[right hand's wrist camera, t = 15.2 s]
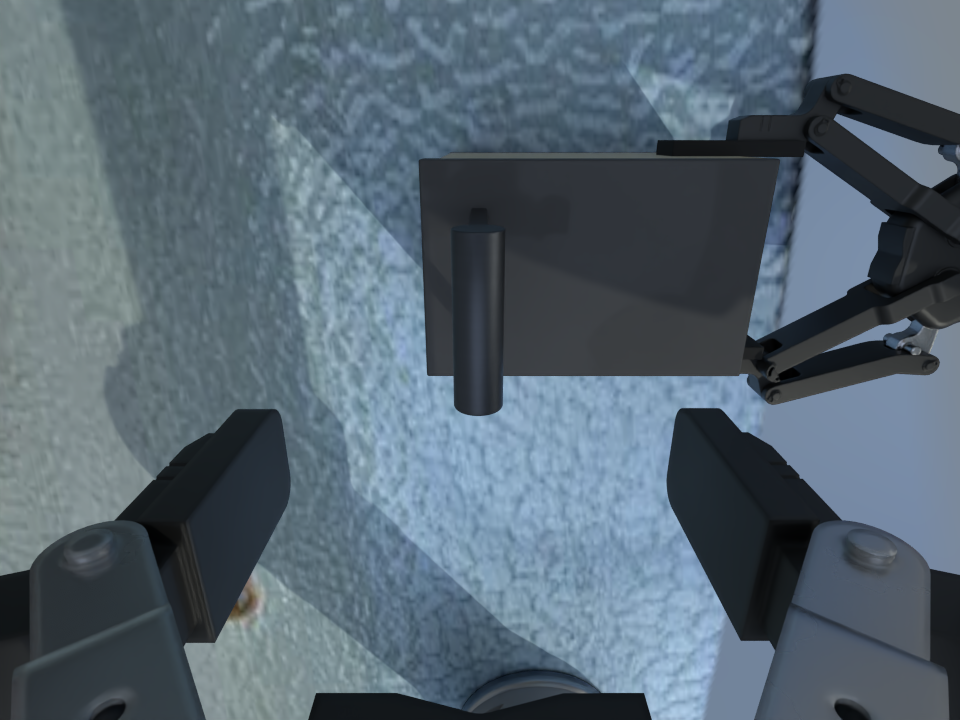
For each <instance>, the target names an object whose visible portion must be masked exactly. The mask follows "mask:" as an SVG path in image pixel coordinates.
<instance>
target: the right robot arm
mask: <svg viewBox="0 0 960 720" xmlns="http://www.w3.org/2000/svg"><path fill="white" fill-rule="evenodd" d="M667 493H668V498H669V502H670V505H671V507H672V509H673V511H674V513H675V515H676V517H677V519H678V521H679V523H680V524H681V526H682V528H683V530H684V532H685V534H686V536H687V538H688V540H689V542H690V544H691V546H692V548H693V549H694V551H695V553H696V555H697V557H698V559H699V561H700V563H701V565H702V567H703V569H704V571H705V573H706V575H707V576H708V578H709V580H710V582H711V584H712V586H713V588H714V590H715V592H716V594H717V596H718V598H719V600H720V601H721V603H722V605H723V607H724V609H725V611H726V613H727V615H728V617H729V619H730V621H731V623H732V625H733V626H734V628H735V630H736V632H737V634H738V636H739V638H740V640H741V641H770V642H771V644H772V646H773V648H774V649H775V654H774V657H773V660H772V663H771V667H770V670H769V673H768V676H767V680H766V683H765V686H764V689H763V693H762V696H761V699H760V702H759V706H758V709H757V712H756V716H755V719H754V720H960V575H957V574H952V573H947V572H942V571H937V570H933V569H930V568H929V566H928V564H927V562H926V561H925V559H924V558H923V557H922V556H921V555H920V554H919V553H918V552H917V551H916V550H915V549H914V548H913V547H911V546H910V545H909V544H907V543H906V542H904V541H903V540H901V539H899V538H898V537H896V536H894V535H892V534H890V533H888V532H886V531H883V530H881V529H878V528H875V527H873V526H869V525H866V524H862V523H858V522H852V521H842V520H841V519H840V518H839V517H838V516H837V514H835V512H834V511H833V510H832V509H831V508H830V507H829V506H828V505H827V504H826V503H825V502H824V501H823V500H822V499H821V498H820V497H819V496H818V494H817V493H816V492H815V491H814V490H813V489H812V488H811V487H810V486H809V485H808V484H807V483H806V482H805V481H804V480H803V479H800V478H799V474H798V473H797V472H796V471H795V470H794V469H793V468H792V467H791V466H790V465H787V462H786V461H785V460H784V459H783V458H782V456H781V455H780V454H779V453H778V452H777V451H776V450H775V449H774V448H773V447H772V446H771V445H769V444H767V443H765V442H764V441H762V440H760V439H759V438H757V437H755V436H753V435H752V434H750V433H748V432H741V431H740V430H739V428H738V427H737V426H736V425H735V424H734V423H733V422H732V421H731V419H730V418H729V417H728V416H727V415H726V414H725V413H724V412H723V411H722V410H721V409H719V408H682V409H680V410H679V411H678V413H677V415H676V418H675V424H674V431H673V438H672V444H671V451H670V458H669V465H668V471H667ZM289 495H290V471H289V465H288V458H287V451H286V445H285V438H284V432H283V425H282V419H281V416H280V414H279V412H278V411H277V410H276V409H237V410H235V411H234V412H233V413H232V414H231V415H230V417H229V418H228V419H227V420H226V421H225V422H224V423H223V424H222V425H221V427H220V428H219V429H218V430H217V431H216V432H215V433H208V434H207V435H205V436H203V437H201V438H200V439H198V440H196V441H194V442H193V443H191V444H189V445H188V446H186V447H184V448H183V449H182V450H181V452H180V453H179V454H178V455H177V456H176V457H175V458H174V459H173V460H172V461H171V462H170V463H169V466H166V467H165V468H164V469H163V470H162V471H161V472H160V473H159V475H158V476H157V479H156V480H153V481H152V482H151V483H150V484H149V485H148V486H147V487H146V488H145V489H144V490H143V491H142V492H141V493H140V494H139V495H138V496H137V498H136V499H135V500H134V501H133V502H132V503H131V504H130V505H129V506H128V507H127V508H126V509H125V510H124V511H123V512H122V513H121V514H120V515H119V516H118V517H117V518H116V519H115V521H108V522H102V523H98V524H94V525H91V526H87V527H84V528H82V529H79V530H77V531H74V532H72V533H70V534H68V535H66V536H64V537H62V538H61V539H59V540H57V541H56V542H54V543H53V544H51V545H50V546H49V547H47V548H46V549H45V550H44V551H43V552H42V553H41V554H40V555H39V556H38V557H37V558H36V559H35V561H34V562H33V564H32V566H31V568H30V570H26V571H22V572H17V573H12V574H7V575H2V576H0V720H206V719H205V715H204V712H203V709H202V706H201V702H200V699H199V696H198V693H197V689H196V686H195V683H194V680H193V676H192V673H191V670H190V667H189V663H188V660H187V657H186V654H185V650H184V645H185V643H215V641H216V640H217V638H218V636H219V634H220V632H221V630H222V628H223V626H224V624H225V622H226V621H227V619H228V617H229V615H230V613H231V611H232V609H233V607H234V605H235V603H236V602H237V600H238V598H239V596H240V594H241V592H242V590H243V588H244V586H245V584H246V583H247V581H248V579H249V577H250V575H251V573H252V571H253V569H254V567H255V565H256V564H257V562H258V560H259V558H260V556H261V554H262V552H263V550H264V548H265V546H266V544H267V543H268V541H269V539H270V537H271V535H272V533H273V531H274V529H275V527H276V525H277V524H278V522H279V520H280V518H281V516H282V514H283V512H284V510H285V508H286V506H287V503H288V500H289ZM308 720H652V719H651V716H650V712H649V709H648V705H647V702H646V699H645V695H644V693H562V694H558V695H554V696H550V697H546V698H543V699H539V700H535V701H531V702H527V703H523V704H520V705H516V706H512V707H508V708H504V709H500V710H496V711H493V712H488V713H472V712H467V711H464V710H460V709H456V708H452V707H448V706H444V705H440V704H437V703H433V702H429V701H425V700H421V699H417V698H414V697H410V696H406V695H402V694H398V693H316V695H315V699H314V702H313V705H312V709H311V712H310V716H309V719H308Z"/></svg>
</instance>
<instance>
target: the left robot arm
mask: <svg viewBox="0 0 960 720" xmlns="http://www.w3.org/2000/svg"><path fill="white" fill-rule="evenodd" d="M836 114H839V115H842V116H845V117H848V118H851V119H853V120H856V121H859V122H862V123H865V124H867V125H870V126H873V127H876V128H879V129H881V130H884V131H887V132H890V133H893V134H896V135H898V136H901V137H904V138H907V139H910V140H912V141H915V142H919V143H922V144H928V145H940V146H939V148H938V152H939V154H941V155H943V157H944V159H945V160H947V161H951V162H954V163H955V164H956V165H957V168H958V172H957V174H954V175H952V176H950V177H949V178H947V179H946V180H944V181H942V182H941V183H939V184H938V185H936V186H934V187H933V188H929V187H926V186H924V185H921V184H919V183H918V182H916V181H915V180H914V179H912V178H911V177H909V176H908V175H907V174H905V173H904V172H903V171H901V170H900V169H899V168H897V167H896V166H895V165H893V164H892V163H891V162H889V161H888V160H887V159H885V158H884V157H883V156H881V155H880V154H879V153H877V152H876V151H875V150H873V149H872V148H871V147H869V146H868V145H867V144H865V143H864V142H863V141H861V140H860V139H859V138H857V137H856V136H855V135H853V134H852V133H850V132H849V131H848V130H846V129H845V128H844V127H842V126H841V125H840V124H838V123H837V122H836V121H834V120H833V119H834V118H835V116H836ZM804 152H805V153H806V154H808V155H809V156H811V157H812V158H813V159H815V160H816V161H817V162H819V163H820V164H822V165H823V166H824V167H826V168H827V169H829V170H830V171H831V172H833V173H834V174H835V175H837V176H838V177H840V178H841V179H842V180H844V181H845V182H847V183H848V184H849V185H851V186H852V187H854V188H855V189H856V190H858V191H859V192H860V193H862V194H863V195H865V196H866V197H867V198H869V199H870V200H871V201H870V202H871V204H873V205H874V206H875V207H877V208H878V209H880V210H881V211H882V212H884V213H885V214H886V215H888V216H889V217H890V218H889V219H888V221H887V222H882V223H881V227H880V231H879V235H878V251H877V253H876V255H875V257H874V259H873V261H872V262H871V265H870V269H869V272H868V277H870V278H871V279H869V280H867V281H865V282H863V283H861V284H859V285H857V286H855V287H853V288H851V289H849V290H848V291H847V295H846V296H844V297H843V298H840V299H838V300H836V301H834V302H832V303H830V304H828V305H826V306H824V307H822V308H820V309H819V310H816V311H814V312H812V313H810V314H808V315H806V316H804V317H802V318H800V319H798V320H796V321H795V322H792V323H790V324H788V325H786V326H784V327H782V328H780V329H778V330H776V331H774V332H772V333H770V334H768V335H766V336H764V337H762V338H760V339H758V340H756V341H755V340H754V339H752V338H751V337H750V336H748V335H747V337H746V343H745V348H744V353H743V359H742V364H741V369H740V374H748V375H749V376H748V378H747V383H748V385H749V386H750V387H751V388H752V389H753V390H754V391H755V392H756V393H757V394H758V395H760V396H761V397H762V398H763V399H764V400H765V401H766V402H767V403H769V404H772V405H775V404H780V403H784V402H788V401H792V400H796V399H800V398H803V397H807V396H811V395H815V394H819V393H823V392H827V391H831V390H835V389H839V388H843V387H847V386H850V385H854V384H858V383H862V382H866V381H870V380H874V379H878V378H882V377H886V376H890V375H893V374H912V375H930V374H932V373H934V372H935V371H936V370H937V368H938V367H939V363H940V362H939V359H938V358H937V357H935V356H933V355H931V354H930V351H931V348H932V346H933V343H934V341H935V338H936V335H937V333H938V330H939V329H943V328H946V327H948V326H950V325H953V324H955V323H958V322H960V114H958V113H955V112H952V111H949V110H947V109H944V108H941V107H939V106H936V105H933V104H930V103H927V102H925V101H922V100H919V99H917V98H914V97H911V96H908V95H905V94H903V93H900V92H897V91H895V90H892V89H889V88H886V87H884V86H881V85H878V84H876V83H873V82H870V81H867V80H865V79H862V78H859V77H856V76H854V75H851V74H841V75H836V76H830V77H824V78H818V79H815V80H812V81H811V82H809V83H808V84H807V86H806V87H805V90H804V100H803V102H802V104H801V106H800V107H799V109H798V110H797V111H796V112H795V113H793V114H791V115H749V116H739V117H736V118H734V119H731V120H729V123H728V129H727V136H726V140H658V143H657V152H656V155H663V156H742V157H803V155H804ZM904 318H907V319H909V320H910V321H912V322H911V324H910V326H909V327H908V328H907V329H906V330H904V331H902V332H897V333H894V334H891V333H888V334H886V335H885V336H884V337H883V341H868V342H863V343H859V344H855V345H852V346H847V347H844V348H840V349H836V350H832V351H828V352H825V353H822V352H824V351H826V350H828V349H830V348H832V347H834V346H837V345H839V344H841V343H843V342H845V341H847V340H849V339H851V338H853V337H855V336H857V335H859V334H861V333H863V332H865V331H868V330H870V329H872V328H874V327H876V326H878V325H884V324H893V323H896V322H898V321H900V320H902V319H904ZM820 353H821V354H820ZM562 693H600V692H599V691H598V690H596V689H595V688H594V687H593V686H591V685H590V684H588V683H586V682H584V681H583V680H580V679H578V678H576V677H573V676H570V675H567V674H563V673H558V672H551V671H526V672H519V673H514V674H510V675H506V676H503V677H500V678H498V679H495V680H493V681H491V682H489V683H487V684H486V685H484V686H483V687H481V688H480V689H478V690H477V691H476V692H475V693H474V694H473V695H472V696H471V697H470V698H469V699H468V700H467V702H466V703H465V705H464V706H463V708H462V710H464V711H467V712H472V713H488V712H493V711H496V710H500V709H504V708H508V707H512V706H516V705H520V704H523V703H527V702H531V701H535V700H539V699H543V698H546V697H550V696H554V695H558V694H562Z"/></svg>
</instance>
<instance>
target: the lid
mask: <svg viewBox="0 0 960 720" xmlns="http://www.w3.org/2000/svg"><path fill="white" fill-rule="evenodd" d="M779 163H780V160H779V159H770V158H423V159H420V160H419V181H420V206H421V232H422V257H423V282H424V308H425V333H426V358H427V375H428V376H454V406H455V408H456V409H457V410H458V411H459V412H461V413H463V414H467V415H472V416H484V415H490V414H493V413H496V412H498V411H499V410H500V409H501V408H502V405H503V376H739V374H740V369H741V364H742V359H743V353H744V348H745V343H746V337H747V332H748V327H749V322H750V316H751V311H752V306H753V300H754V295H755V290H756V285H757V279H758V274H759V269H760V264H761V258H762V253H763V248H764V242H765V237H766V232H767V227H768V221H769V216H770V211H771V205H772V200H773V195H774V190H775V184H776V179H777V174H778V168H779Z"/></svg>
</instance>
